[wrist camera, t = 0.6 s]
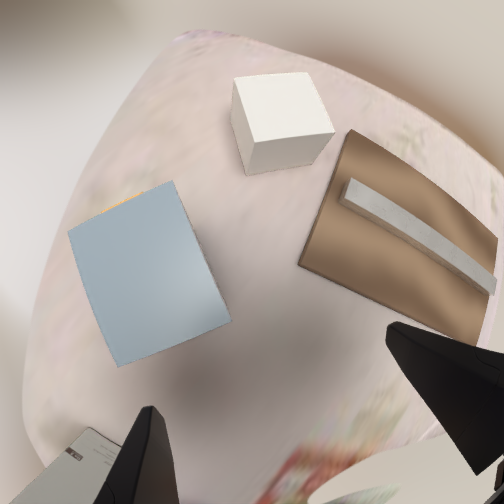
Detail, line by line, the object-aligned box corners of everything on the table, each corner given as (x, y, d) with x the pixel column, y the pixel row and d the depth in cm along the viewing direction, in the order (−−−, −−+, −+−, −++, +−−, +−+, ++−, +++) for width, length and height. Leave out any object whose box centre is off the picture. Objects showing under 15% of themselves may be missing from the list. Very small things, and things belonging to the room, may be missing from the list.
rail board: (469, 346, 24) (484, 349, 21) (297, 264, 23) (306, 262, 20) (492, 239, 26) (506, 236, 24) (347, 133, 25) (357, 121, 22)
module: (226, 305, 22) (232, 321, 11) (163, 331, 21) (117, 367, 10) (190, 222, 22) (167, 168, 12) (129, 249, 21) (64, 220, 11)
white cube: (291, 111, 25) (308, 72, 19) (311, 165, 24) (336, 132, 18) (229, 119, 24) (233, 77, 18) (245, 176, 23) (254, 142, 17)
